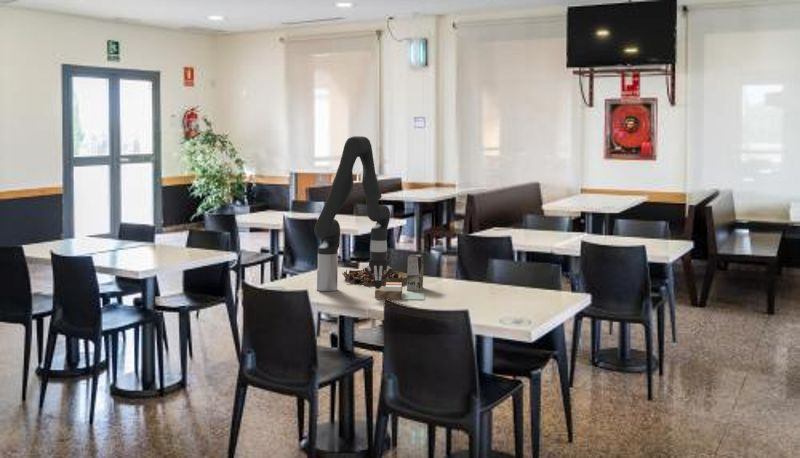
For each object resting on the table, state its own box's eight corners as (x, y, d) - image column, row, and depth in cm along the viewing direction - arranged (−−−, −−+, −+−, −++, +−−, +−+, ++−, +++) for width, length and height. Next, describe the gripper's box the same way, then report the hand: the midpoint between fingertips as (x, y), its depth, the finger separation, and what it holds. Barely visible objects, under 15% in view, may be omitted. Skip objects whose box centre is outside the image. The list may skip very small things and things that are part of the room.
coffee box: (420, 291, 390) (420, 257, 388) (406, 290, 391) (407, 256, 389) (423, 287, 398) (424, 254, 397) (410, 286, 400) (410, 253, 398)
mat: (402, 299, 369) (402, 298, 369) (402, 293, 383) (402, 292, 383) (424, 300, 369) (424, 299, 369) (423, 294, 383) (423, 293, 383)
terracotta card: (386, 288, 377) (386, 283, 376) (386, 286, 381) (386, 282, 380) (401, 288, 377) (401, 284, 376) (401, 286, 381) (401, 282, 380)
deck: (374, 298, 370) (375, 291, 369) (376, 293, 382) (376, 285, 382) (401, 299, 370) (402, 291, 369) (402, 293, 382) (402, 286, 382)
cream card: (385, 291, 370) (385, 286, 370) (385, 289, 374) (385, 284, 374) (401, 291, 370) (401, 286, 370) (401, 289, 374) (401, 285, 374)
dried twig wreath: (328, 283, 413) (328, 267, 412) (373, 276, 438) (373, 261, 437) (380, 290, 390) (380, 274, 389) (424, 282, 415) (425, 267, 414)
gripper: (363, 251, 366) (362, 289, 368) (393, 251, 366) (392, 290, 368) (364, 248, 374) (363, 286, 376) (393, 249, 373) (393, 287, 375)
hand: (378, 288), depth 372 cm, fingers closed
